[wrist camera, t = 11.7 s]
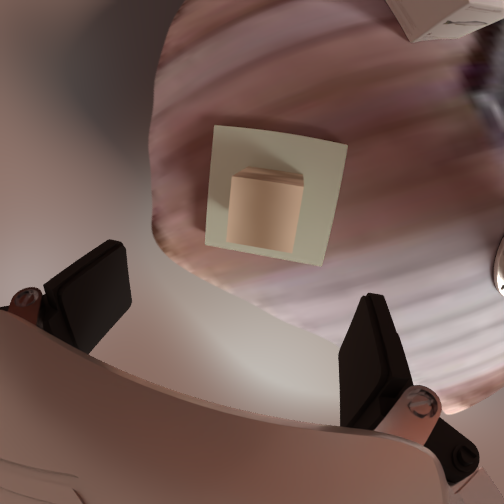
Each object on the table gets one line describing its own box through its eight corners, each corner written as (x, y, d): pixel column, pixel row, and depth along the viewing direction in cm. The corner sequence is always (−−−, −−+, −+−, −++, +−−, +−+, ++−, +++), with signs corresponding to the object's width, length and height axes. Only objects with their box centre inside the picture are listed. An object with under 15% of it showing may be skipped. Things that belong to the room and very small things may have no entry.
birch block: (303, 174, 23) (303, 187, 18) (294, 226, 26) (292, 253, 20) (248, 166, 24) (231, 176, 19) (242, 218, 26) (226, 241, 21)
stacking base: (343, 144, 24) (347, 145, 21) (320, 256, 29) (321, 266, 27) (222, 125, 25) (214, 125, 23) (212, 236, 30) (204, 244, 28)
